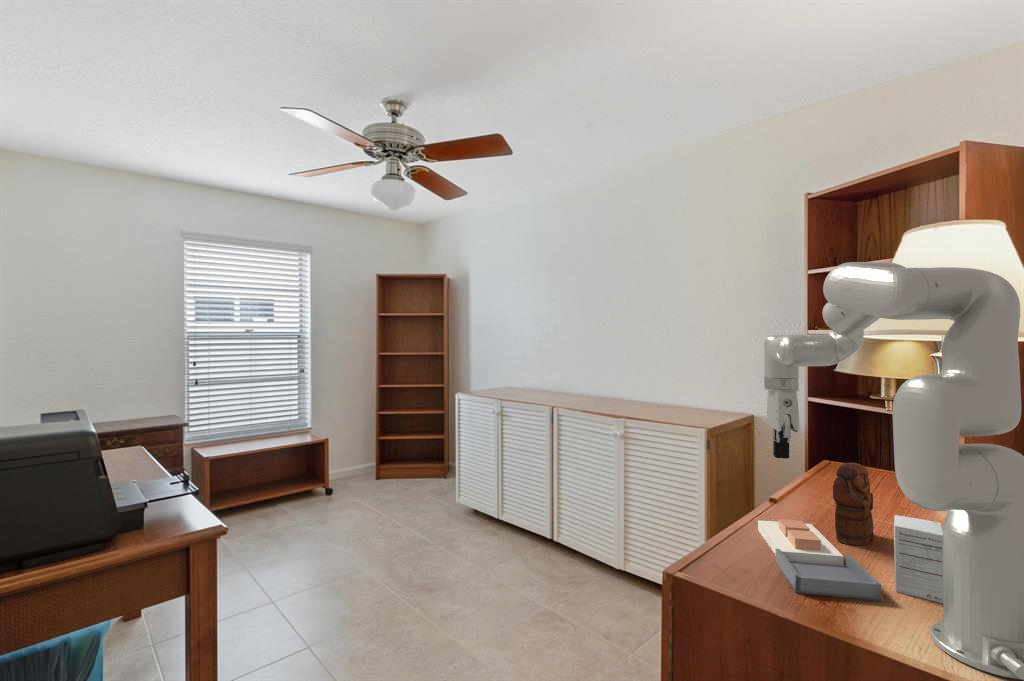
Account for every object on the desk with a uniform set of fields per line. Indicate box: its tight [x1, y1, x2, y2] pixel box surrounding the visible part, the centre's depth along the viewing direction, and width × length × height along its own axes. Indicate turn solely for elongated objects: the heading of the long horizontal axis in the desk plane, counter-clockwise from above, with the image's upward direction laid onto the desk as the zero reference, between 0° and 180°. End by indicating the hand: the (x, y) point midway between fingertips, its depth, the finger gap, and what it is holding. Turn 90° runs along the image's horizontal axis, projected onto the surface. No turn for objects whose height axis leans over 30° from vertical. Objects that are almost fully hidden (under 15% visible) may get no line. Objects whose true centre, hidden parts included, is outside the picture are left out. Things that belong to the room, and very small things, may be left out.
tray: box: [775, 549, 882, 602], centre depth 96 cm, size 13×14×3 cm
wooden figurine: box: [832, 462, 875, 546], centre depth 115 cm, size 12×6×18 cm, turn 129°
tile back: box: [778, 518, 810, 537], centre depth 113 cm, size 5×5×2 cm
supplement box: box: [893, 514, 944, 604], centre depth 92 cm, size 7×7×13 cm
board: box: [757, 520, 845, 566], centre depth 111 cm, size 18×12×2 cm, turn 167°
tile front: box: [788, 530, 821, 551], centre depth 107 cm, size 5×5×2 cm
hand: (781, 457), depth 121 cm, fingers closed
